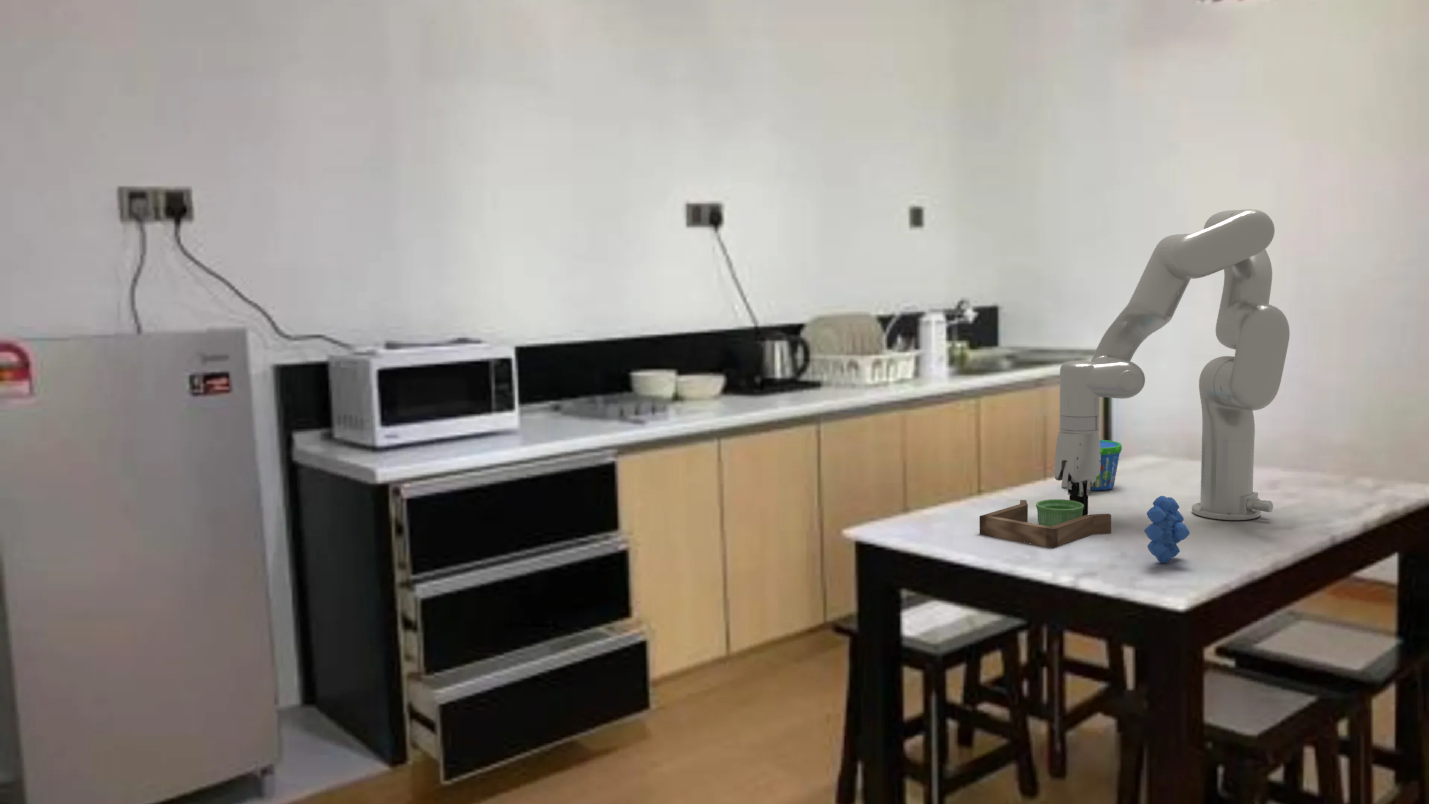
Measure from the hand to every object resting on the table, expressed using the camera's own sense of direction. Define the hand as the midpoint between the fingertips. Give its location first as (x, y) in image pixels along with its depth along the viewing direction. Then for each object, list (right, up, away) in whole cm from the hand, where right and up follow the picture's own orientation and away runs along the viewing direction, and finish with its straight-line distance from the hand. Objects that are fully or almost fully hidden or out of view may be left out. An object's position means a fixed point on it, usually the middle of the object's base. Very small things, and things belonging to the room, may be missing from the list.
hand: (1078, 514), depth 227 cm
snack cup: (+13, +3, +29) cm, 32 cm away
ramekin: (-5, -2, -4) cm, 7 cm away
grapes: (+5, -5, -32) cm, 33 cm away
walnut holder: (-10, -3, -8) cm, 13 cm away
